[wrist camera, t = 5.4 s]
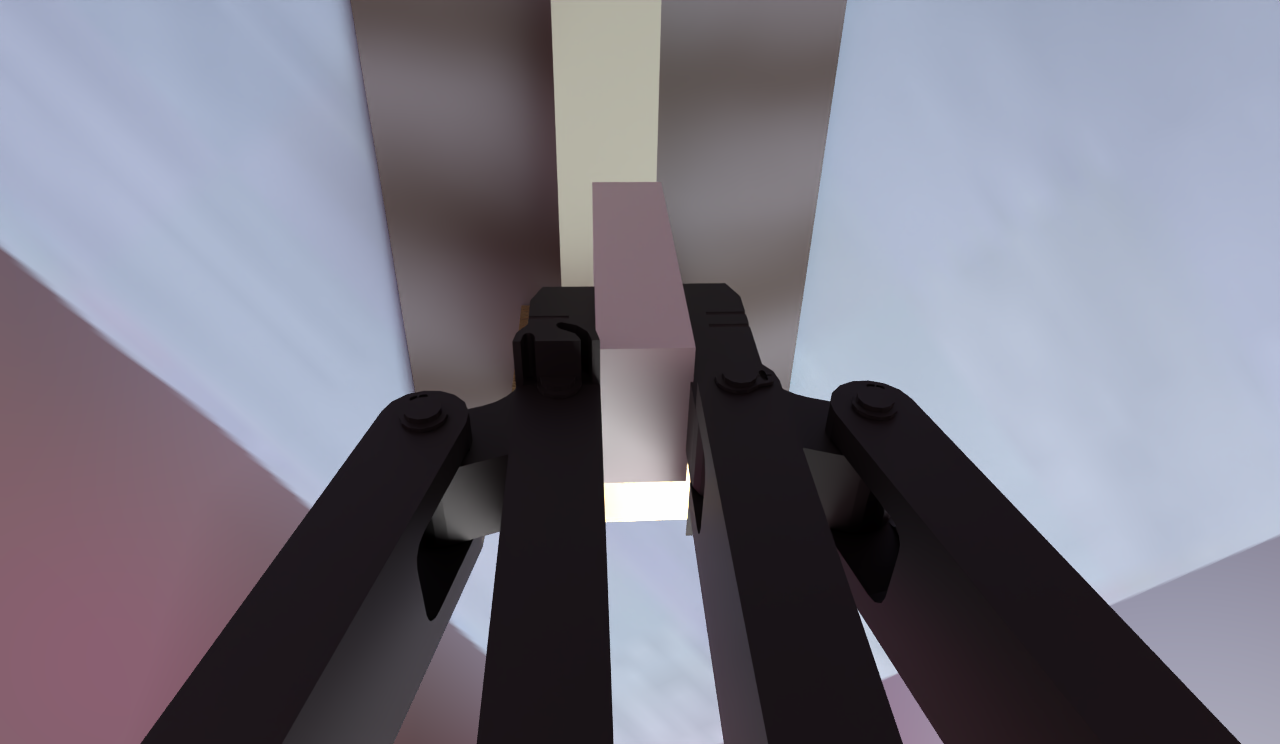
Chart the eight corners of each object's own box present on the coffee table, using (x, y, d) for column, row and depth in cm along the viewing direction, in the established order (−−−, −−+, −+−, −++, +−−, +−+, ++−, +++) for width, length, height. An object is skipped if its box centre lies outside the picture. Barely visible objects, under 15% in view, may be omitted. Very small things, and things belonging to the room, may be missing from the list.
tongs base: (242, -694, 17) (130, -873, 13) (935, -649, 18) (1048, -800, 14) (422, 416, 33) (400, 503, 29) (782, 407, 34) (812, 490, 30)
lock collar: (521, 305, 30) (510, 406, 25) (687, 303, 30) (711, 401, 25) (529, 413, 33) (520, 524, 27) (681, 410, 33) (701, 518, 28)
